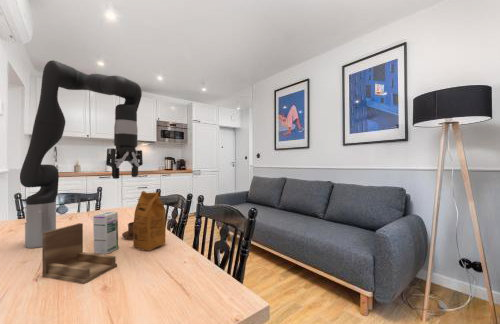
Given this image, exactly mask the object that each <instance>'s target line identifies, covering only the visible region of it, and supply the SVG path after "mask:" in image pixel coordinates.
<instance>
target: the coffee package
mask: <svg viewBox="0 0 500 324" xmlns="http://www.w3.org/2000/svg"><path fill="white" fill-rule="evenodd" d="M160 197H161V193H160V192H146V190H145V191H144V190H142V191H141V192H140V196H139V197H138V201H137V204H136V206H135V211H134V214H133V215H134V217H133V222H134V224H133V239H132V241H133V244H132V245H133V247H134V248H138V249H139V250H140V251H152V250H153V249H155V248H157V247H160V246H163V245H165V244H166V230H167V228H166V223H167V222H166V208H165V205H164V204H163V202H162V200H161V198H160Z"/></svg>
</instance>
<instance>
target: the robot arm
mask: <svg viewBox="0 0 500 324" xmlns="http://www.w3.org/2000/svg"><path fill="white" fill-rule="evenodd" d="M41 76H42V77H41V87H40V95H39V102H38V107H37V111H36V115H35V118H34V122H33V126H32V132H31V137H30V142H29V145H28V149H27V152H26V154H25V157H24V159H23V160H24V161H23V164H22V166H21V169H20V173H19V180H20V184H21V186H23V187H25V188H38V187H39V188H40V189H39V190H38V191H36V192H35V193H34V194H30V195H29V196H27V197H26V198H25V222H24V246H25V247H26V248H27V249H36V248H42V233H43V232H47V231H51V230H55V229H57V197H58V194H59V180H60V179H59V178H60V176H59V175H60V174H59V171H58V168H57V166H55V165H54V164H42V162H43V159H44V157H45V156H46V154H47V153H48V152H49V151H50V150H51V149H52V148H53V147H55V145H57V143H58V142H60V140H61V139H62V137H63V136H64V132H65V126H66V117H65V115H64V113H63V111H62V108H61V106H60V104H59V99H58V96H59V88H62V89H65V90H69V91H82V90H83V91H90V92H94V93H98V94H102V95H107V96H116V97H119V98H122V99H124V103H121V104H120V103H119V104H117V105H116V106H115V109H114V110H115V111H114V126H113V127H114V128H113V130H114V131H113V145H114V147H115V148H113V147H112V148H107V150H106V163H105V166H107V167H111V177H112V179H120V166H121V165H122V164H123V163H124V162H128V163H129V164H130V166H131V177H132V178H138V176H139V167H141V166H143V163H144V162H143V161H144V160H143V150H142V149H141V150H140V149H139V150H138V149H136V147H138V115H137V114H138V109H139V105H140V102H141V99H142V94H143V92H142V88H141V86H140V84H138V83H137V82H135V81H133V80H130V79H128V78H126V77H124V76H120V75H107V74H100V73H90V74H87V73H84V72H82V71H80V70H77V69H76V68H74V67H72V66H70V65H67V64H64V63H62V62H59V61H57V60H54V59H53V60H49V61H47V63H45V65H44V67H43V72H42V75H41Z"/></svg>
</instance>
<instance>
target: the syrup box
mask: <svg viewBox="0 0 500 324" xmlns="http://www.w3.org/2000/svg"><path fill="white" fill-rule="evenodd" d="M118 214H119V213H118V211H104V212H102V213H97V214H94V215H92V217H93V218H92V220H93V222H92V223H93V225H92V226H93V254H101V255H108V254H110V253H112V252H114V251H116V250H118V249H119V217H118Z"/></svg>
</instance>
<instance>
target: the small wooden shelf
mask: <svg viewBox="0 0 500 324" xmlns="http://www.w3.org/2000/svg"><path fill="white" fill-rule="evenodd" d="M83 225H84V223H82V222H80V223H75V224H71V225H66V226H64V227H59V228H56V229H55V230H51V231H47V232H43V233H42V247H41V248H42V266H41V267H42V269H41V273H42V274H41V275H42V276H41V277H43V278H48V279H53V280H59V281H65V282H70V283H76V284H82V285H85V284H86V283H89V282H90V281H92V280H94V279H96V278H98V277H101V276H102V275H104V274H106V273H107V272H109V271H110V272H111V270H113V269H115V268H117V267H118V263H116V262H117V261H116V259H117V258H116V257H117V256H115V255H108V254H97V253H94V252H93V253H92V252H84V247H83V246H84V228H83V227H84V226H83Z"/></svg>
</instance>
